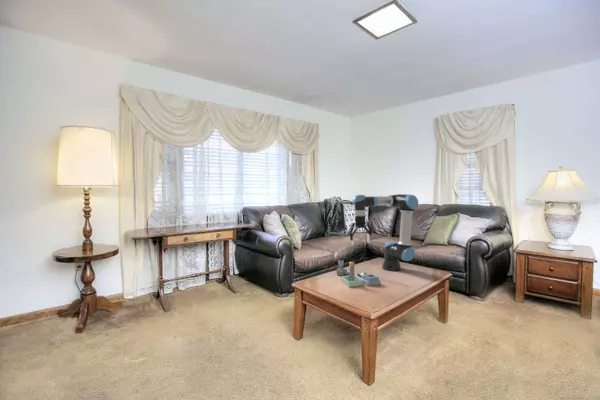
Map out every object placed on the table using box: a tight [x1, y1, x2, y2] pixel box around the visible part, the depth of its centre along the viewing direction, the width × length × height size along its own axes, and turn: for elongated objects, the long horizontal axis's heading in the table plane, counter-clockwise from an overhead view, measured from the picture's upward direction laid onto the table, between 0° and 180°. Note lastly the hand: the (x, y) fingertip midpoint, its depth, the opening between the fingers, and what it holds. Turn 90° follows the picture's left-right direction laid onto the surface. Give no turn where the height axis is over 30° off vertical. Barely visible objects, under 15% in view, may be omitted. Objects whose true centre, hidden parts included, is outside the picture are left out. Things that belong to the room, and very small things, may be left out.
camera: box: [336, 259, 356, 277], centre depth 232 cm, size 9×12×15 cm
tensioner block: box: [356, 272, 381, 287], centre depth 219 cm, size 17×11×6 cm, turn 19°
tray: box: [340, 274, 364, 288], centre depth 215 cm, size 12×12×4 cm
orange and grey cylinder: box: [349, 261, 355, 281], centre depth 214 cm, size 4×4×15 cm
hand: (360, 243), depth 218 cm, fingers open, 13 cm apart
